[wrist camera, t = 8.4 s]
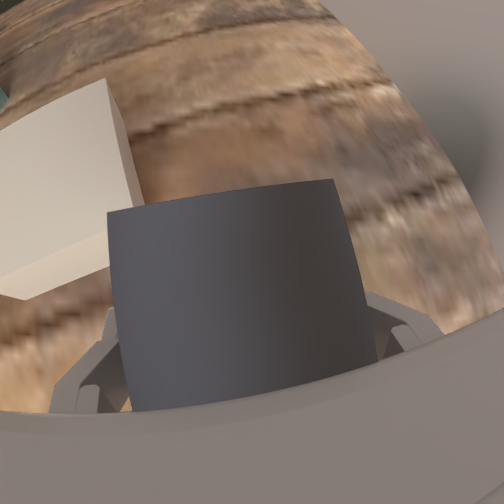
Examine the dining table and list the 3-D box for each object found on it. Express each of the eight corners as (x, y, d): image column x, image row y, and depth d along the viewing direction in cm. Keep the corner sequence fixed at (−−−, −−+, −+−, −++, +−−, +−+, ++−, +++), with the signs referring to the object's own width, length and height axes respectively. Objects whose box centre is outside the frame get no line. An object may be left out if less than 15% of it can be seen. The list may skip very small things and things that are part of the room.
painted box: (26, 300, 27) (-21, 288, 19) (13, 176, 30) (-22, 144, 23) (158, 247, 30) (136, 218, 22) (124, 123, 33) (105, 77, 25)
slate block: (190, 384, 15) (143, 453, 5) (172, 286, 16) (106, 212, 6) (288, 365, 15) (384, 401, 6) (269, 270, 17) (333, 178, 7)
